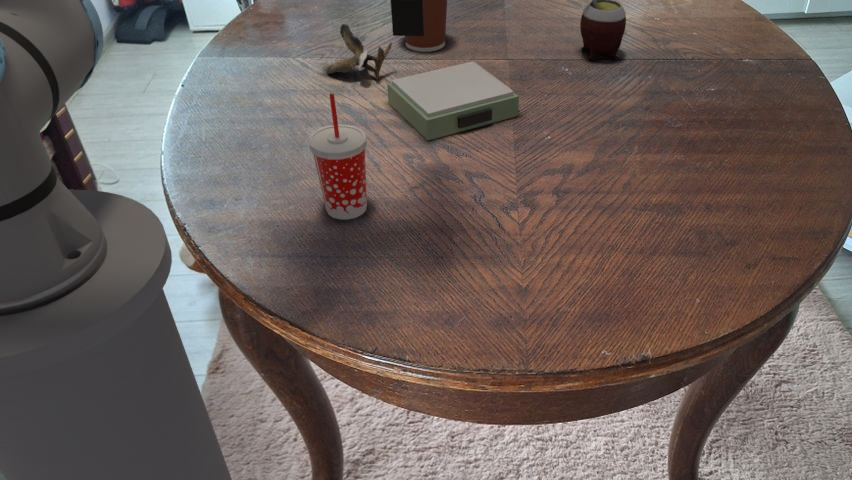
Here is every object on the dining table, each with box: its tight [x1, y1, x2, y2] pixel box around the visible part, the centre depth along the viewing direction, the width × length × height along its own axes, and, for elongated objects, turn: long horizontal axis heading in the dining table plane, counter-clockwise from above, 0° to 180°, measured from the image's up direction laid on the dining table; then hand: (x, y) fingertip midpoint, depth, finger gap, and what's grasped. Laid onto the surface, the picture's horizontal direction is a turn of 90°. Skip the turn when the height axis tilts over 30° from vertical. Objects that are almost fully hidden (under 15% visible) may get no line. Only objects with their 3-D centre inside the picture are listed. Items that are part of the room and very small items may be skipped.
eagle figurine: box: [326, 23, 393, 81], centre depth 109 cm, size 8×7×9 cm
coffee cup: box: [404, 0, 448, 53], centre depth 116 cm, size 9×9×12 cm
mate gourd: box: [579, 0, 627, 63], centre depth 113 cm, size 8×8×15 cm
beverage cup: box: [307, 93, 368, 220], centre depth 80 cm, size 6×6×14 cm
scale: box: [386, 60, 520, 141], centre depth 101 cm, size 14×12×4 cm
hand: (411, 6), depth 70 cm, fingers open, 13 cm apart
